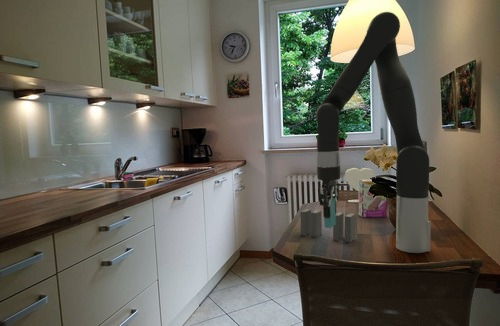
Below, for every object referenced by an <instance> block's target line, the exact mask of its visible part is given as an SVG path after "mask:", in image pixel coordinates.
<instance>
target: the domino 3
mask: <svg viewBox="0 0 500 326" xmlns="http://www.w3.org/2000/svg"><path fill="white" fill-rule="evenodd" d="M330 211H331V217H330V218H324V228H329V229H331V228H333V226H334V225H336V214H335V198H332V200H331V203H330Z"/></svg>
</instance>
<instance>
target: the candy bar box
mask: <svg viewBox="0 0 500 326" xmlns="http://www.w3.org/2000/svg"><path fill="white" fill-rule="evenodd" d="M373 184H374V183H373V182H372V180H359V202H358V216H359V217H360V218H362V219H363V218H365V219H366V218H367V219H370V218H372V219H373V218H387V209H388V207H387V206H388V197H387V198H386V197H384V196H375V197H374V198H373V196H374V195H373V194H371V193H370V192H369V189H370V187H371V185H373Z"/></svg>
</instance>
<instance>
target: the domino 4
mask: <svg viewBox="0 0 500 326" xmlns="http://www.w3.org/2000/svg"><path fill="white" fill-rule="evenodd" d="M344 214H345V213H344V212H339V211H338V212H336V225H334V226H333V227H332V232H333V233H332V234H333V235H332V236H333V237H332V241H336V242H339V241H341V240H342V239H344V238H345V215H344Z"/></svg>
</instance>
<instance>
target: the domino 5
mask: <svg viewBox="0 0 500 326" xmlns="http://www.w3.org/2000/svg"><path fill="white" fill-rule="evenodd" d="M355 240H356V214H355V213H347V214H346V215H344V242H345V243H352V242H354V241H355Z"/></svg>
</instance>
